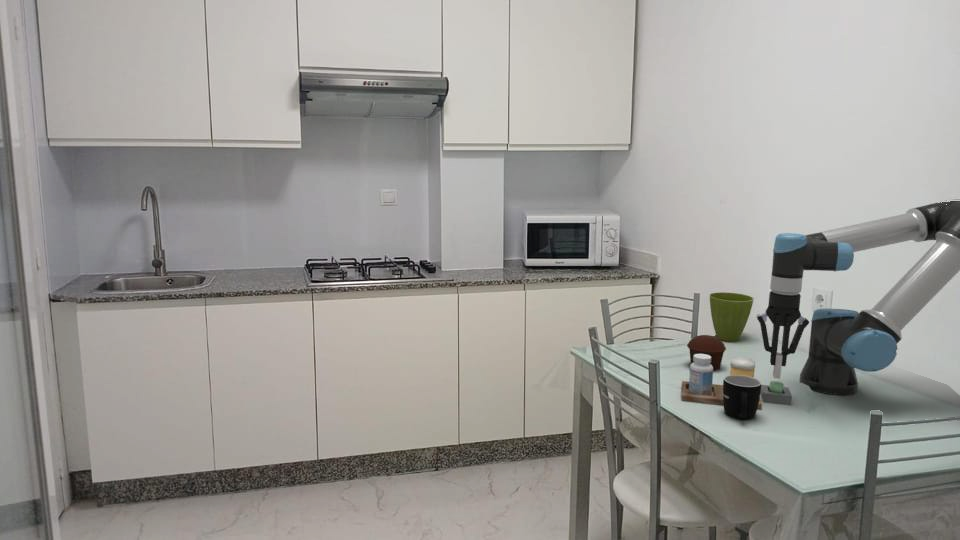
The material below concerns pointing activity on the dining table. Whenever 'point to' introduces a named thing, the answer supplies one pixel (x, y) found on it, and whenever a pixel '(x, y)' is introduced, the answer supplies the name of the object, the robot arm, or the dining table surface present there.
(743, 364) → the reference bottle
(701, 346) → the muffin
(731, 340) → the flower pot
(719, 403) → the pallet board
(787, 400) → the button housing
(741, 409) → the mug
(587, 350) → the dining table surface
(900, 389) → the dining table surface
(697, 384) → the pill bottle
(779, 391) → the button plunger
